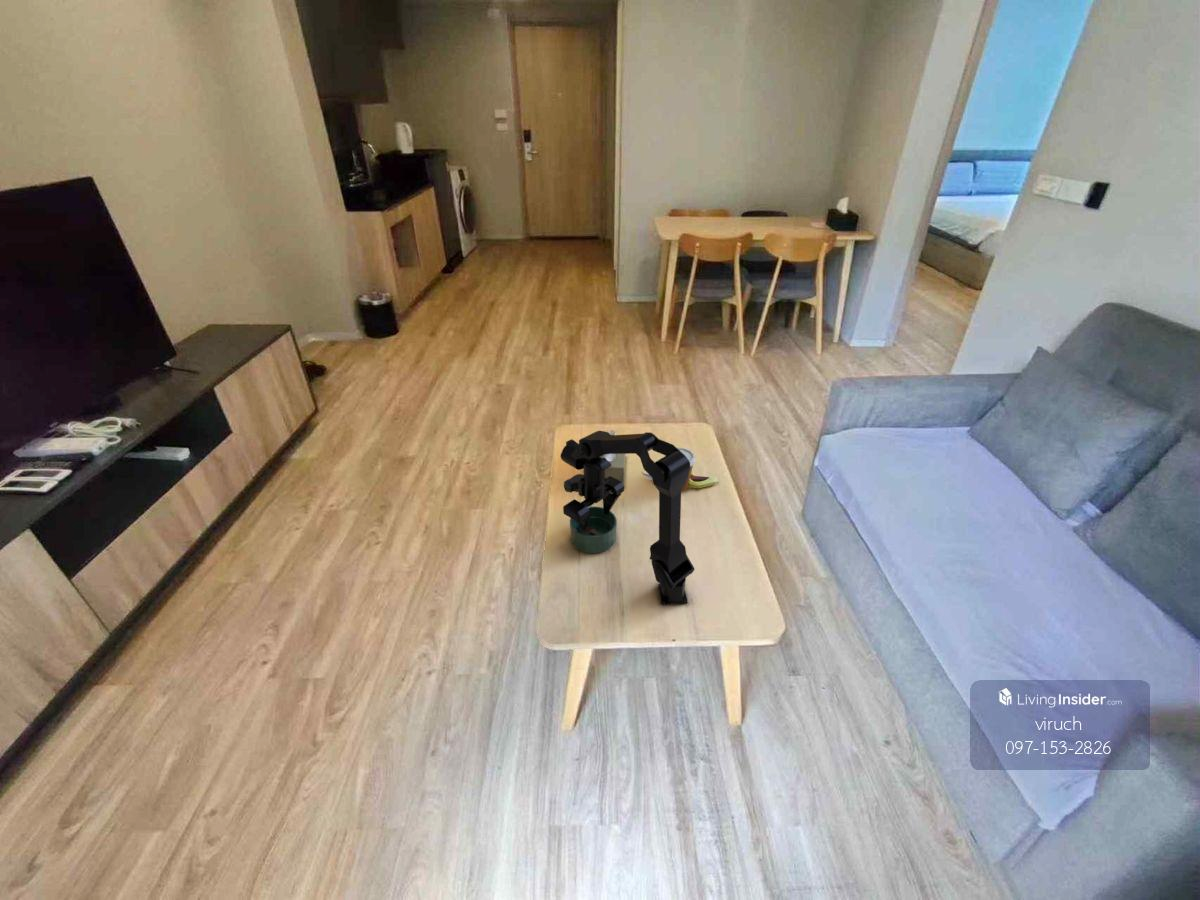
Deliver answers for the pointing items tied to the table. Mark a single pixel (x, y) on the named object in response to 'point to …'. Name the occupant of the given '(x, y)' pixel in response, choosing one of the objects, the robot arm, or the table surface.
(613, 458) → the tissue box
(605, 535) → the bucket
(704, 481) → the yellow curved piece
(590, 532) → the spoon
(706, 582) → the table surface
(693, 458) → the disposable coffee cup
